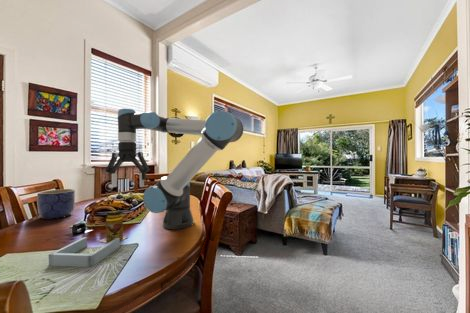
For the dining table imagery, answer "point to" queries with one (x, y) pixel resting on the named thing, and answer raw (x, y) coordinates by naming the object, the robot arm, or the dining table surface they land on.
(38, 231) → the dining table surface
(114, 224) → the condiment
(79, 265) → the bay
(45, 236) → the dining table surface
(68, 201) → the planter
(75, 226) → the black angular block
